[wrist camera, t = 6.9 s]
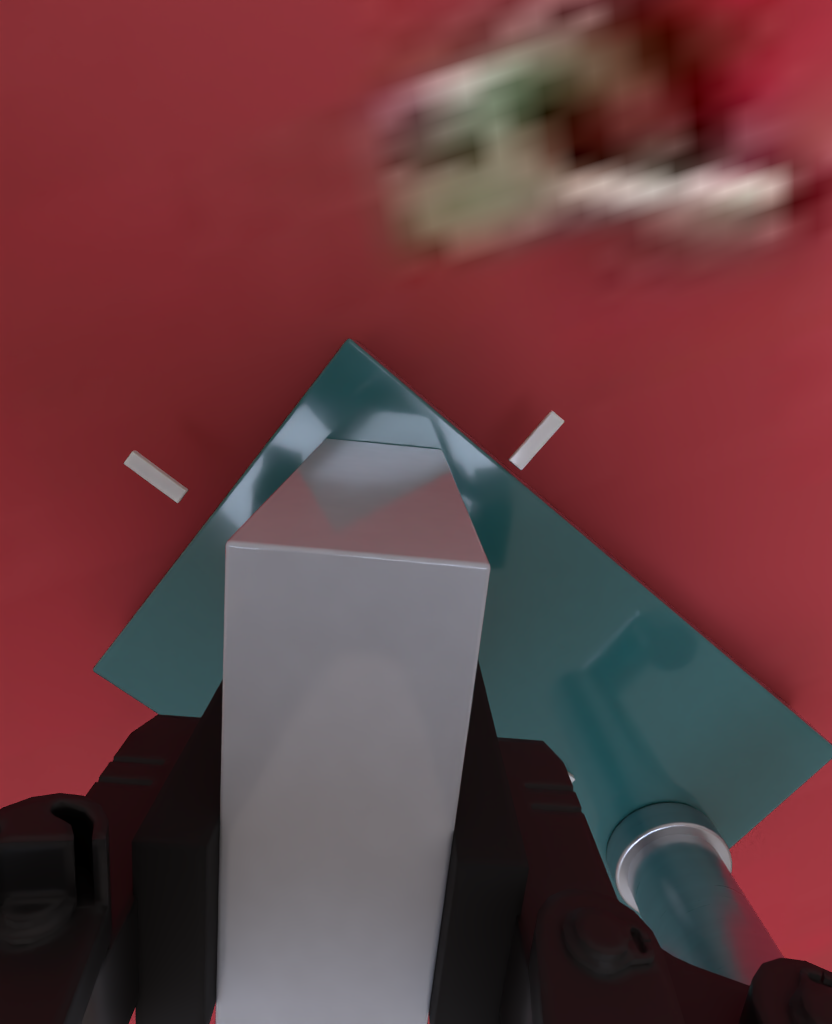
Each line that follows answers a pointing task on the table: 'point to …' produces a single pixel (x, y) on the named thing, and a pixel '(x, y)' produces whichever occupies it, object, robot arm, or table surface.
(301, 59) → the table surface
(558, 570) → the teal base plate
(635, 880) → the spout
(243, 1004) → the white block
